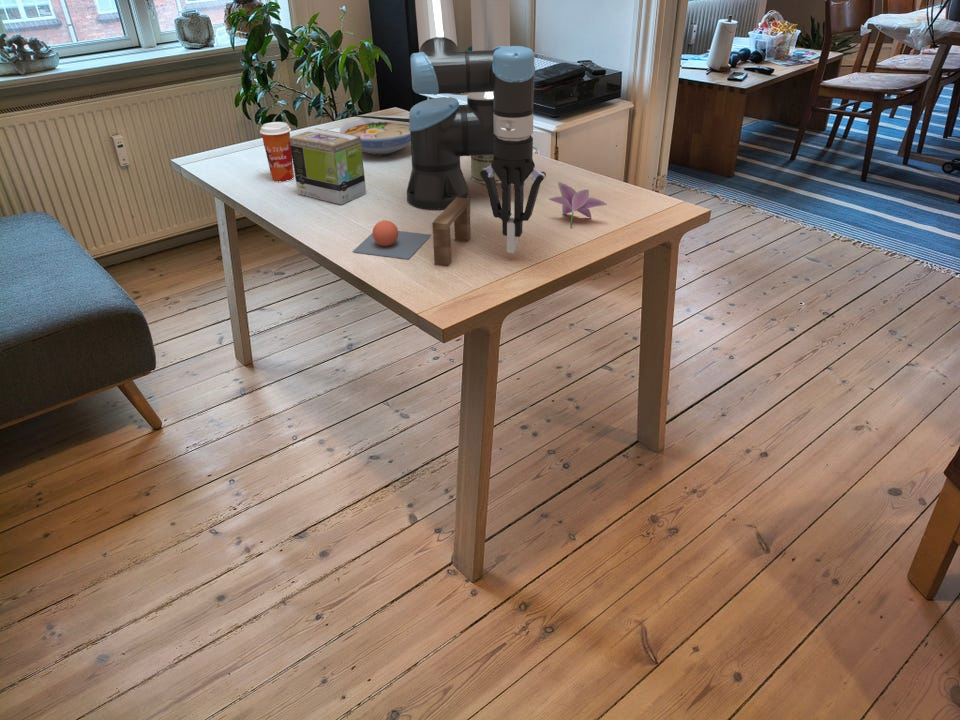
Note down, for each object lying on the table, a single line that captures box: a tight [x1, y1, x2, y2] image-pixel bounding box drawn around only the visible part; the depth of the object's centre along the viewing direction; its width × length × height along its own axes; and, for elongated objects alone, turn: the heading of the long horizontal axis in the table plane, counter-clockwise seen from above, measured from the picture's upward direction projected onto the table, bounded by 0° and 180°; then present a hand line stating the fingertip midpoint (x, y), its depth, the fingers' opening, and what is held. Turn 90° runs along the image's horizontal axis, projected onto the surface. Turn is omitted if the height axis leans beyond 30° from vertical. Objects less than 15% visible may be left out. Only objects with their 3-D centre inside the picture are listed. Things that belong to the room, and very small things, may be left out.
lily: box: [548, 181, 608, 229], centre depth 169 cm, size 12×12×10 cm
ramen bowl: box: [339, 114, 411, 156], centre depth 216 cm, size 25×23×8 cm
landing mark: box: [351, 230, 432, 261], centre depth 163 cm, size 13×13×1 cm
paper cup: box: [259, 121, 295, 183], centre depth 196 cm, size 8×8×14 cm
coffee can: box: [470, 155, 501, 185], centre depth 194 cm, size 10×10×14 cm
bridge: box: [431, 197, 472, 267], centre depth 157 cm, size 3×14×9 cm, turn 162°
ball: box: [371, 219, 399, 246], centre depth 161 cm, size 6×6×6 cm
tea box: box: [289, 127, 367, 205], centre depth 185 cm, size 15×10×15 cm, turn 57°
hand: (512, 249), depth 155 cm, fingers closed
